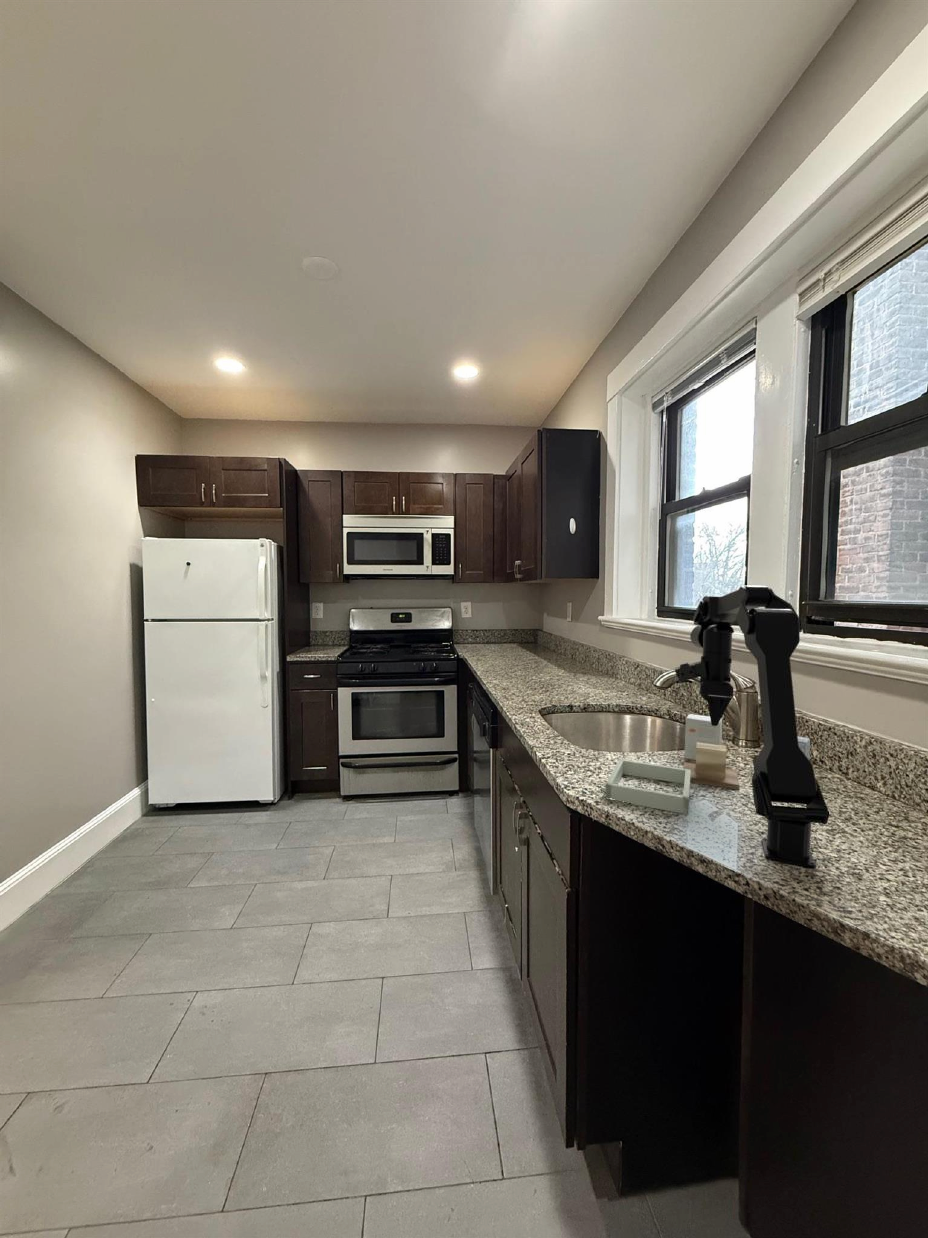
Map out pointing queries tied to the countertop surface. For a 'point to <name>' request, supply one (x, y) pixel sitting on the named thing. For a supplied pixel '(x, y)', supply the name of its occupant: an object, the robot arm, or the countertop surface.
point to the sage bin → (649, 796)
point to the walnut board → (714, 778)
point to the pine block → (710, 760)
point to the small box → (700, 733)
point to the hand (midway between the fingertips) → (713, 721)
